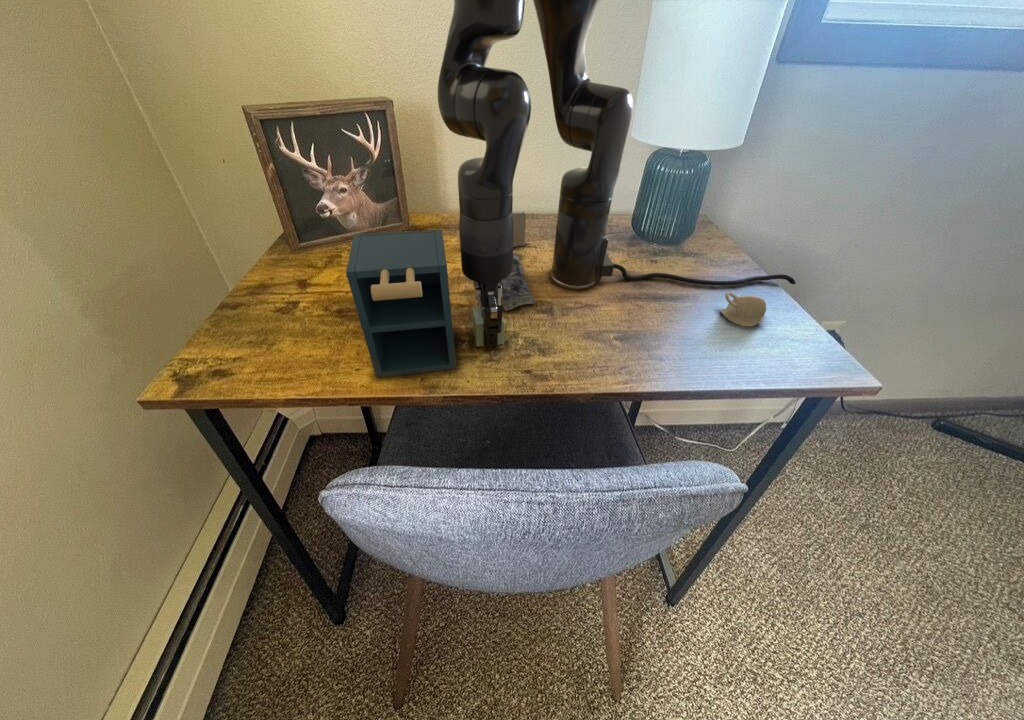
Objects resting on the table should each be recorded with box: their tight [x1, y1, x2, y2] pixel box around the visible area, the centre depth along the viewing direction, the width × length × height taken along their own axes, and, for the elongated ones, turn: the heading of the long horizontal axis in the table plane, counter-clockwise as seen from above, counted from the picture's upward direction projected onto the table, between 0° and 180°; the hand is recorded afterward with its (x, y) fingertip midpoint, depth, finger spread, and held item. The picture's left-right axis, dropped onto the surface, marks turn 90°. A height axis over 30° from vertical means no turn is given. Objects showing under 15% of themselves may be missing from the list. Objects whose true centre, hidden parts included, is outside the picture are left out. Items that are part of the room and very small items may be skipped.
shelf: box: [345, 229, 457, 379], centre depth 57 cm, size 18×12×15 cm
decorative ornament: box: [720, 291, 767, 328], centre depth 72 cm, size 4×8×5 cm, turn 78°
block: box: [471, 307, 505, 348], centre depth 67 cm, size 5×5×5 cm
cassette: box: [512, 211, 527, 248], centre depth 90 cm, size 12×2×8 cm, turn 95°
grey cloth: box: [499, 253, 536, 312], centre depth 81 cm, size 21×7×2 cm, turn 9°
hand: (488, 335), depth 68 cm, fingers closed on block, 4 cm apart
